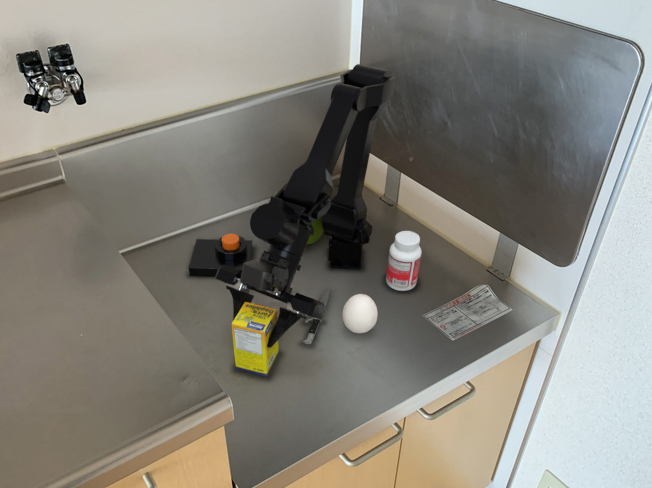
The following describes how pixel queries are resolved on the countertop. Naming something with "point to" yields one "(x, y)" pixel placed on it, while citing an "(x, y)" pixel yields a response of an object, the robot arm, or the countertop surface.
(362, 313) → the egg
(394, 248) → the pill bottle
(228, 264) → the black button base
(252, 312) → the supplement box
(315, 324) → the knife
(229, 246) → the button
